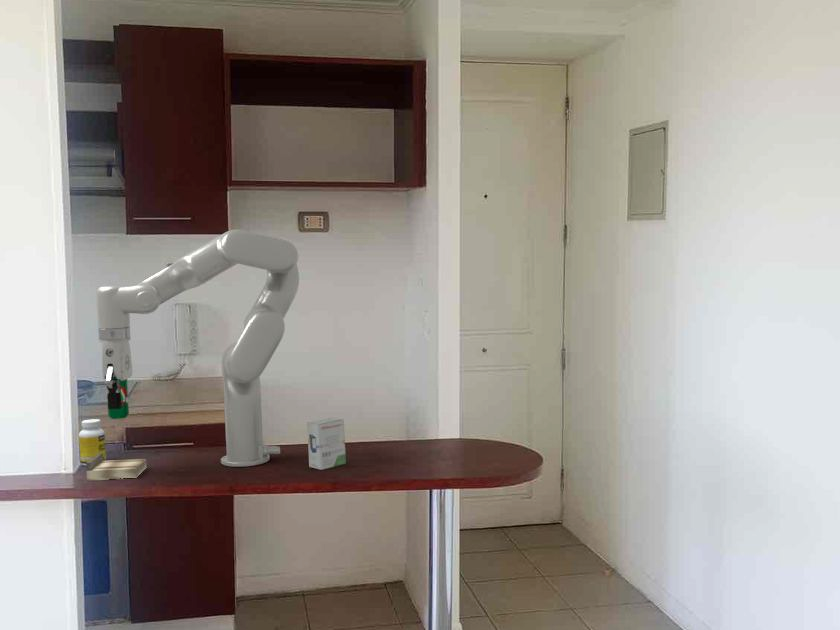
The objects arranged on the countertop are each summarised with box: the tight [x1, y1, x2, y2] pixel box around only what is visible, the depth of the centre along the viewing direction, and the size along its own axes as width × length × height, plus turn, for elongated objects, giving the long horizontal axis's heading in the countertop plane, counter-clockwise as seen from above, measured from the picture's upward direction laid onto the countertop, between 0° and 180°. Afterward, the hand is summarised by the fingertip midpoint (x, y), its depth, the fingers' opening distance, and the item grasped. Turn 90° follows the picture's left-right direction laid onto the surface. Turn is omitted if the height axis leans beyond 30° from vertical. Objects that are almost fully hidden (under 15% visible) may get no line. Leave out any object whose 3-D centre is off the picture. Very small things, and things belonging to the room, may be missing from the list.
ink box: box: [306, 417, 347, 471], centre depth 225 cm, size 9×5×12 cm, turn 134°
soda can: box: [105, 378, 130, 420], centre depth 221 cm, size 5×5×12 cm
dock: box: [86, 453, 148, 482], centre depth 222 cm, size 12×10×4 cm
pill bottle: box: [78, 418, 107, 466], centre depth 234 cm, size 6×6×12 cm
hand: (118, 406), depth 221 cm, fingers closed on soda can, 5 cm apart
